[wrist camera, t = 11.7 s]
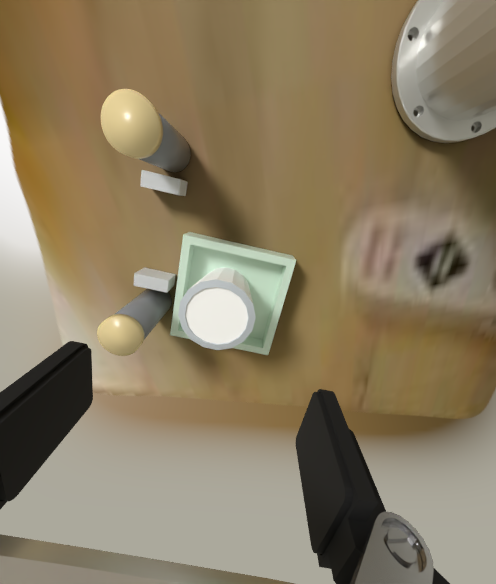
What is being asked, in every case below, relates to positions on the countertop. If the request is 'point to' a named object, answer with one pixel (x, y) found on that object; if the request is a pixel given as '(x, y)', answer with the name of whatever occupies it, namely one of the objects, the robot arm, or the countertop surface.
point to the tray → (257, 271)
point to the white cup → (218, 310)
